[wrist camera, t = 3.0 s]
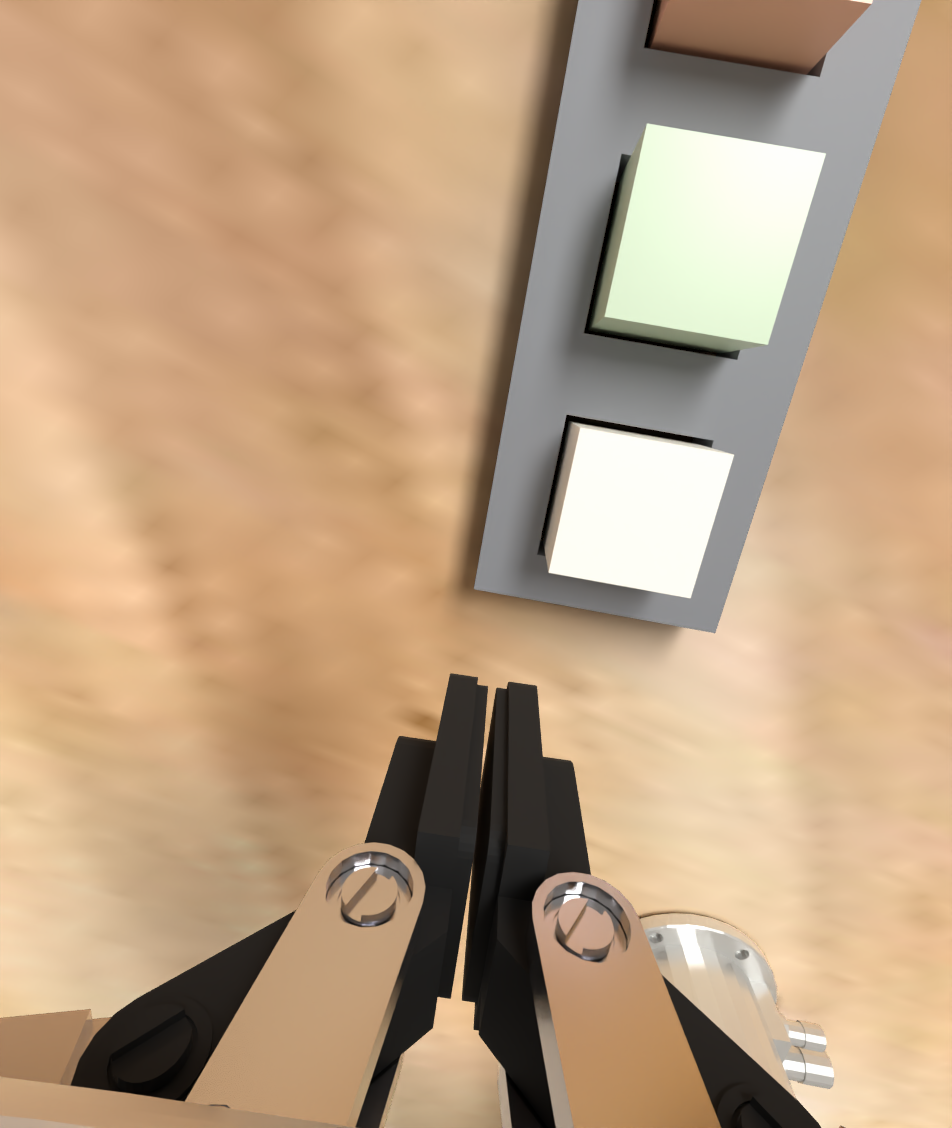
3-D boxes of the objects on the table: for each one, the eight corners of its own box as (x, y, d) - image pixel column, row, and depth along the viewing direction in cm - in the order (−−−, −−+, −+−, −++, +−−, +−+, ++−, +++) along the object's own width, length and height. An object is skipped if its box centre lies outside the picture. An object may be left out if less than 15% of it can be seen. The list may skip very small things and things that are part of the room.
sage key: (763, 201, 23) (826, 153, 19) (720, 353, 25) (767, 345, 20) (620, 177, 24) (646, 123, 19) (587, 330, 25) (604, 316, 21)
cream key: (694, 443, 26) (734, 454, 22) (661, 563, 28) (690, 598, 23) (568, 420, 27) (580, 427, 22) (543, 541, 28) (548, 572, 24)
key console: (933, -155, 21) (999, -241, 18) (696, 610, 30) (715, 633, 28) (616, -206, 21) (631, -299, 18) (477, 570, 31) (473, 588, 28)
